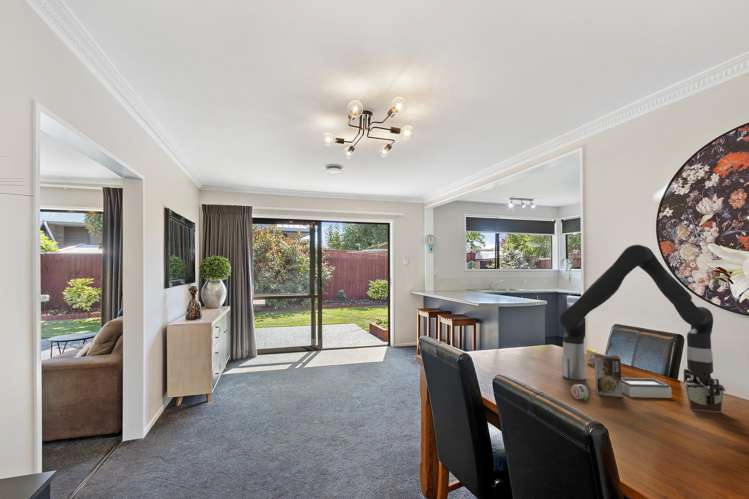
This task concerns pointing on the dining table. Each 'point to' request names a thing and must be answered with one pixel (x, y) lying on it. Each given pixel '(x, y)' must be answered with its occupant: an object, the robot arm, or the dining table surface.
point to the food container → (702, 397)
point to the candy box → (592, 356)
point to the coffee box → (608, 375)
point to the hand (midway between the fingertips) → (701, 401)
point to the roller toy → (579, 392)
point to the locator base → (645, 388)
